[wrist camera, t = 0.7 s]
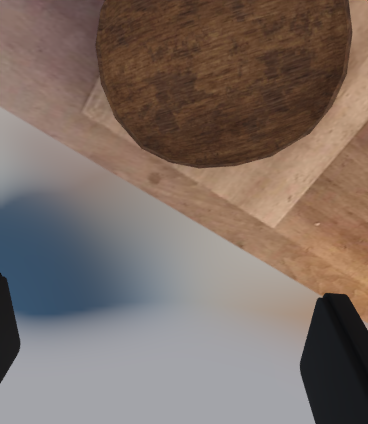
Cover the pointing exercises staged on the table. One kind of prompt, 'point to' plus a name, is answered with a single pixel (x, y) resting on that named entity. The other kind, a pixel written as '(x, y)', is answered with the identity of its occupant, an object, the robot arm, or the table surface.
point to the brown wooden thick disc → (221, 73)
